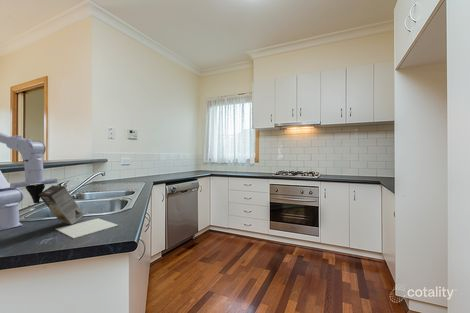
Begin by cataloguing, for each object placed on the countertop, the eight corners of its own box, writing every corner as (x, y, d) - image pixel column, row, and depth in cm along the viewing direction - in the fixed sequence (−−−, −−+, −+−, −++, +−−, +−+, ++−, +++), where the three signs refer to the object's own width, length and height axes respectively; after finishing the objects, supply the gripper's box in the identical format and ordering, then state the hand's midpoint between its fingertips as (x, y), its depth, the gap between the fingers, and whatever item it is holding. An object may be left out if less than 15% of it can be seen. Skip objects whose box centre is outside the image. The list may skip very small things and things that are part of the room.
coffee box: (59, 223, 97) (36, 194, 90) (73, 212, 102) (52, 185, 95) (72, 225, 93) (49, 195, 86) (85, 214, 98) (64, 185, 91)
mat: (55, 229, 89) (55, 228, 88) (98, 218, 102) (98, 218, 102) (73, 238, 78) (73, 237, 78) (118, 225, 92) (118, 224, 92)
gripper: (12, 172, 83) (14, 208, 83) (59, 168, 95) (61, 200, 95) (7, 172, 86) (10, 206, 87) (53, 168, 98) (55, 198, 99)
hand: (36, 203), depth 91 cm, fingers closed
